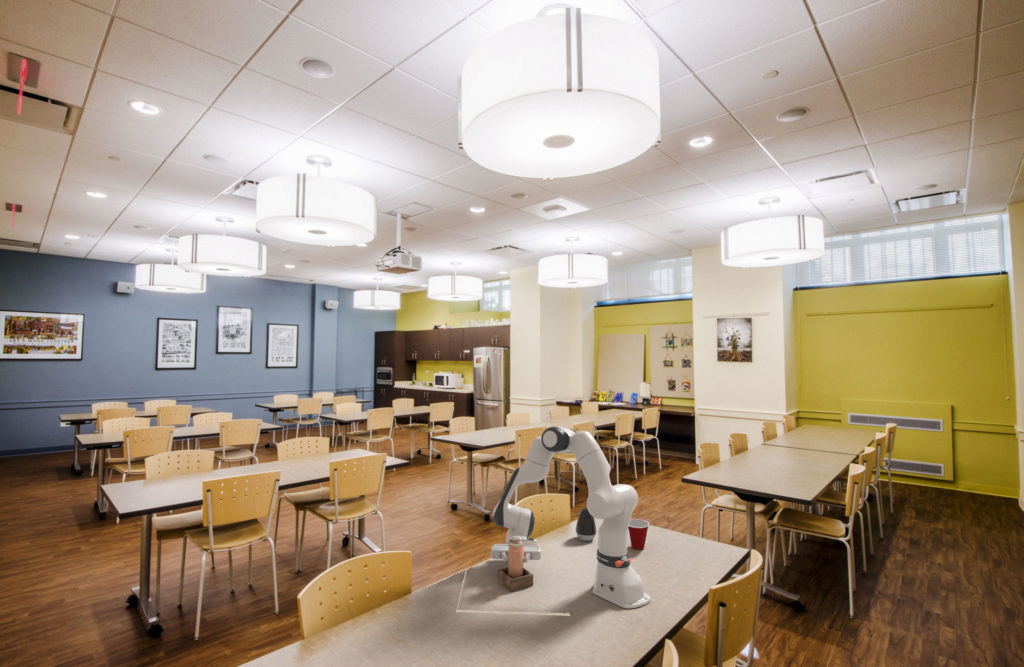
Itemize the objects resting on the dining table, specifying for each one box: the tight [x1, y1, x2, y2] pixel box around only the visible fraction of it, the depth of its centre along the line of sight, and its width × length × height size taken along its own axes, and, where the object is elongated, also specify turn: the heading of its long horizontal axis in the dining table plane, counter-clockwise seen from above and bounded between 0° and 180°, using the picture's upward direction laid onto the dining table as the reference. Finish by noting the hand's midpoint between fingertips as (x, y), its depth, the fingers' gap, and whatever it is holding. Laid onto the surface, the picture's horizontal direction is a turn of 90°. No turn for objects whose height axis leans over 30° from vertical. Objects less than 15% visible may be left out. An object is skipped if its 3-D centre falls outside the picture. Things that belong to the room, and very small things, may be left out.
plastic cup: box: [628, 518, 650, 551], centre depth 227 cm, size 11×11×12 cm
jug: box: [507, 538, 525, 579], centre depth 184 cm, size 9×6×16 cm
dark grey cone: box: [575, 506, 597, 542], centre depth 236 cm, size 10×10×15 cm
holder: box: [497, 567, 534, 593], centre depth 185 cm, size 10×10×5 cm
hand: (515, 560), depth 185 cm, fingers closed on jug, 6 cm apart
